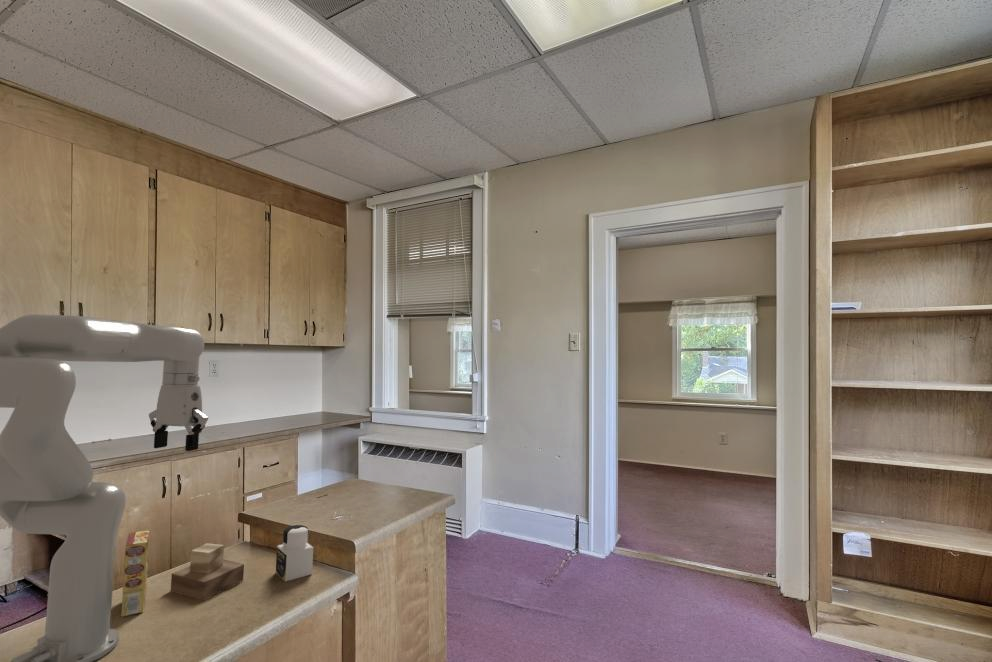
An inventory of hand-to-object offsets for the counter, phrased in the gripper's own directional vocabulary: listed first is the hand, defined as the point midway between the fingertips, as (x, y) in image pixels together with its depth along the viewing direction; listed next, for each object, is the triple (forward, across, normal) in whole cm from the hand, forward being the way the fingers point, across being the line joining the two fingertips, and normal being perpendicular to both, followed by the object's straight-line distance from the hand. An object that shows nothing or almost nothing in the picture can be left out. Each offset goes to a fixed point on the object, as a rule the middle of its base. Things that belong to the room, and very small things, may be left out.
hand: (175, 448), depth 121 cm
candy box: (+34, -2, +10) cm, 35 cm away
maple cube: (+29, -9, -3) cm, 31 cm away
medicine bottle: (+34, -25, -15) cm, 44 cm away
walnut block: (+34, -9, -3) cm, 35 cm away
